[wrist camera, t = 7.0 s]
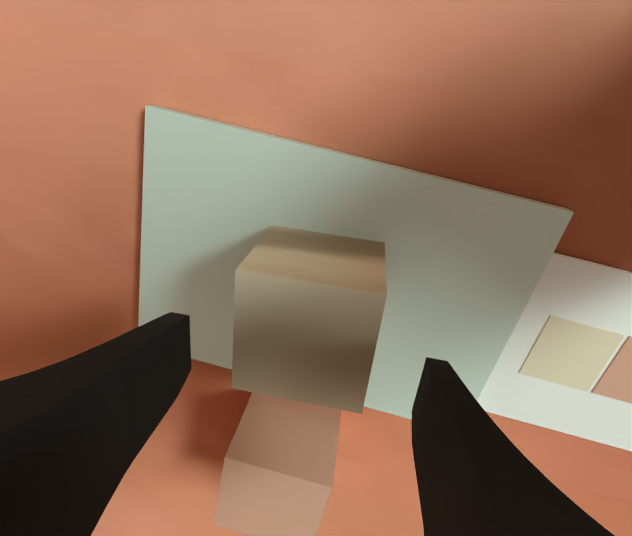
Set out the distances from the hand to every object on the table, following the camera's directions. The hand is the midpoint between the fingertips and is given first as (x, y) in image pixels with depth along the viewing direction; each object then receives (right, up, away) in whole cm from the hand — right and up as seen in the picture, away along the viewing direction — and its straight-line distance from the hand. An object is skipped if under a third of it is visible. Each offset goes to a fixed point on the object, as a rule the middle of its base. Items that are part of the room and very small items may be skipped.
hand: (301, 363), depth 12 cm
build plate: (+1, +2, +5) cm, 6 cm away
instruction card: (+13, -1, +5) cm, 14 cm away
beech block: (+1, +2, +5) cm, 5 cm away
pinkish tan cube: (-1, -6, +9) cm, 11 cm away
